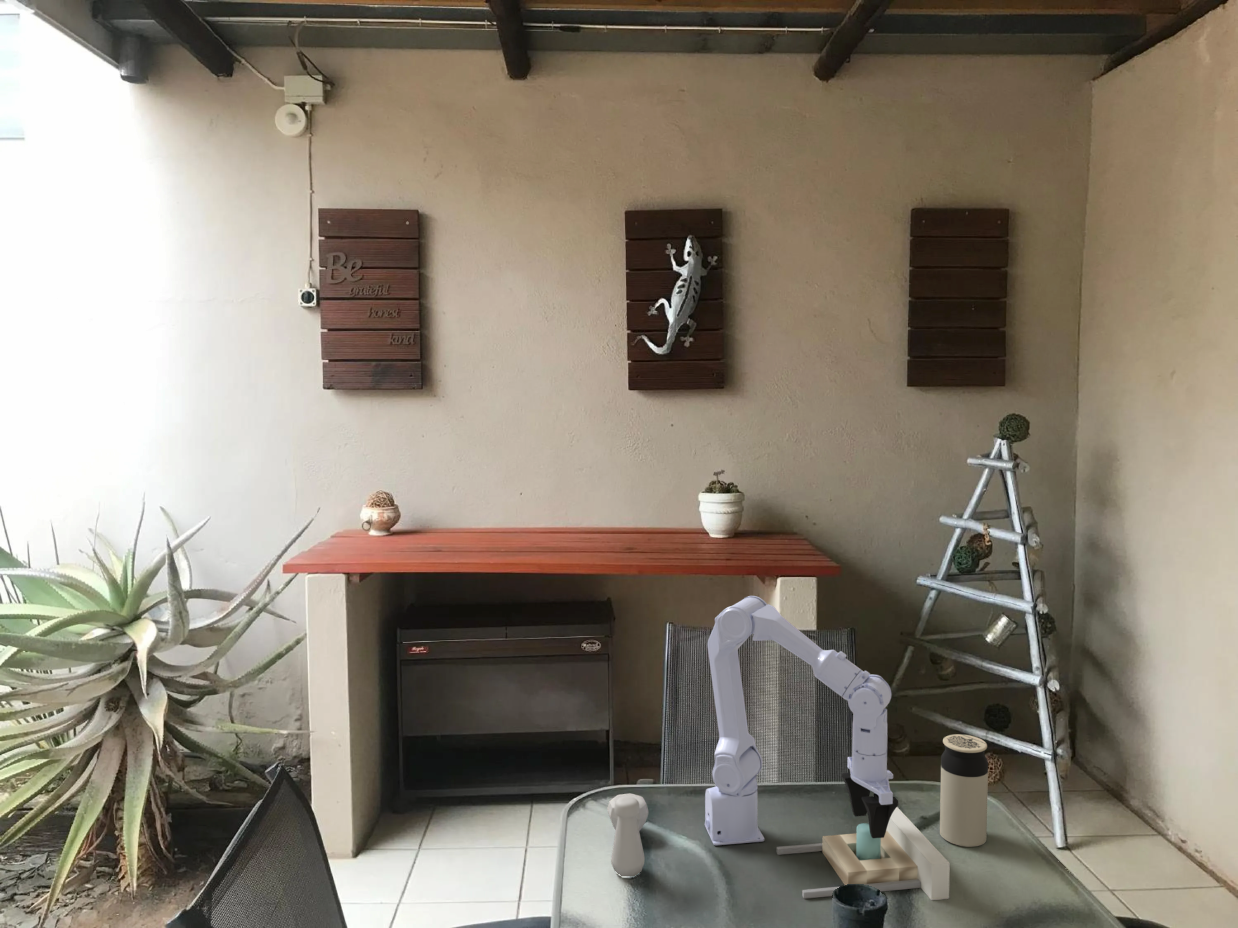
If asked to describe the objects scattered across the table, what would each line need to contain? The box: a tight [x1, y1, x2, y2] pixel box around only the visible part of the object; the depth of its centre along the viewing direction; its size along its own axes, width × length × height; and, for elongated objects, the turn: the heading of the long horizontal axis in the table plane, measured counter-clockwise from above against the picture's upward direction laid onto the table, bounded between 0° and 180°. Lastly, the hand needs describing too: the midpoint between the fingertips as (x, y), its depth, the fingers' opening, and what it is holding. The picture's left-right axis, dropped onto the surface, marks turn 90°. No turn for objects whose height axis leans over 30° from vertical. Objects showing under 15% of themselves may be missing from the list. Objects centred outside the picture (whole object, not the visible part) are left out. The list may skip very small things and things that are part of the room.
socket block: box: [821, 831, 918, 886], centre depth 157 cm, size 12×12×3 cm
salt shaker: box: [610, 796, 646, 876], centre depth 156 cm, size 6×6×13 cm
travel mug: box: [939, 733, 989, 848], centre depth 166 cm, size 8×8×18 cm
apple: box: [606, 793, 649, 832], centre depth 170 cm, size 8×8×7 cm
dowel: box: [856, 822, 881, 861], centre depth 157 cm, size 4×4×7 cm
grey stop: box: [776, 806, 951, 901], centre depth 156 cm, size 23×22×6 cm
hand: (868, 825), depth 156 cm, fingers open, 7 cm apart
